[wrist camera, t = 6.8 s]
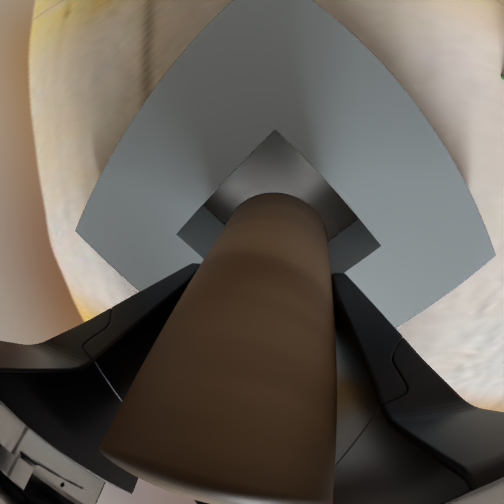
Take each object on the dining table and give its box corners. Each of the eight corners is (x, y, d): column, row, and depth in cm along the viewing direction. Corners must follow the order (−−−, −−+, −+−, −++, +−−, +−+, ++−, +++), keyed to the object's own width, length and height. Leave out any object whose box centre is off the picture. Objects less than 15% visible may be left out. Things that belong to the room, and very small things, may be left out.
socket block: (278, 348, 19) (272, 388, 16) (110, 205, 16) (75, 230, 13) (466, 223, 12) (495, 255, 9) (278, 0, 9) (268, -29, 6)
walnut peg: (275, 298, 12) (228, 509, 5) (206, 238, 11) (80, 445, 4) (348, 246, 10) (375, 505, 3) (275, 170, 9) (157, 445, 2)
